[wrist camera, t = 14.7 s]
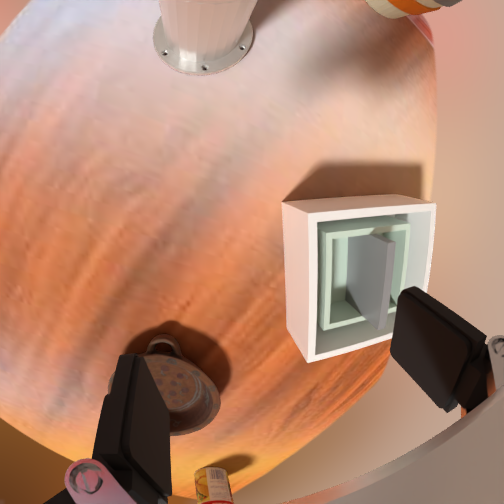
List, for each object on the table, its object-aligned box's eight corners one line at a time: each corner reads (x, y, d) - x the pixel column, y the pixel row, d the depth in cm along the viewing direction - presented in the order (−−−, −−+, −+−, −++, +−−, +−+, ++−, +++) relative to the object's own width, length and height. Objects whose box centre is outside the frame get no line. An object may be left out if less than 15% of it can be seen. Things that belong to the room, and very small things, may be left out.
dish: (226, 333, 42) (231, 353, 37) (209, 426, 47) (212, 445, 43) (109, 319, 37) (101, 338, 33) (118, 417, 43) (115, 436, 38)
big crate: (281, 201, 37) (307, 213, 29) (396, 193, 40) (436, 203, 32) (286, 327, 43) (307, 363, 35) (388, 303, 46) (419, 327, 38)
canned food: (192, 479, 52) (197, 519, 41) (196, 465, 51) (202, 508, 39) (223, 481, 55) (231, 518, 43) (230, 467, 53) (239, 508, 41)
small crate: (306, 222, 38) (342, 242, 28) (385, 214, 40) (430, 230, 31) (307, 309, 42) (336, 347, 32) (379, 293, 44) (416, 322, 35)
